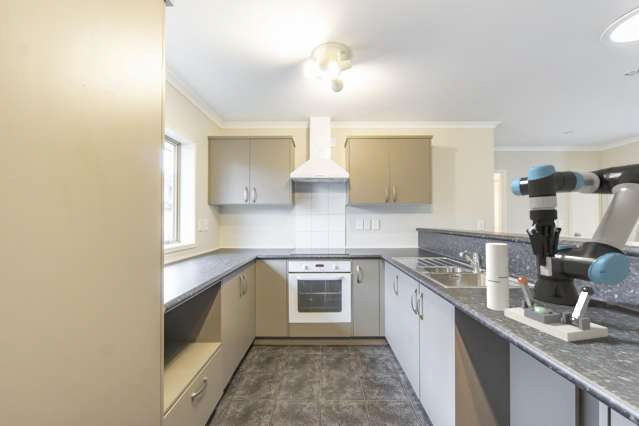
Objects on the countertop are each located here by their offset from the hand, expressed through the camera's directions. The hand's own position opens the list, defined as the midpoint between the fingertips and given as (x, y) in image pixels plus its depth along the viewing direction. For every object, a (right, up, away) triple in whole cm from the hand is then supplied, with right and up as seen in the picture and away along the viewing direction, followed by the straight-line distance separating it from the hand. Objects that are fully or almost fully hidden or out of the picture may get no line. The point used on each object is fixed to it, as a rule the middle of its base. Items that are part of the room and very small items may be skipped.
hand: (546, 274), depth 93 cm
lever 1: (-6, -12, -2) cm, 13 cm away
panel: (-5, -15, -8) cm, 17 cm away
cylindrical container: (-12, -15, +8) cm, 21 cm away
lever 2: (-5, -11, -15) cm, 19 cm away
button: (-9, -12, -9) cm, 17 cm away
